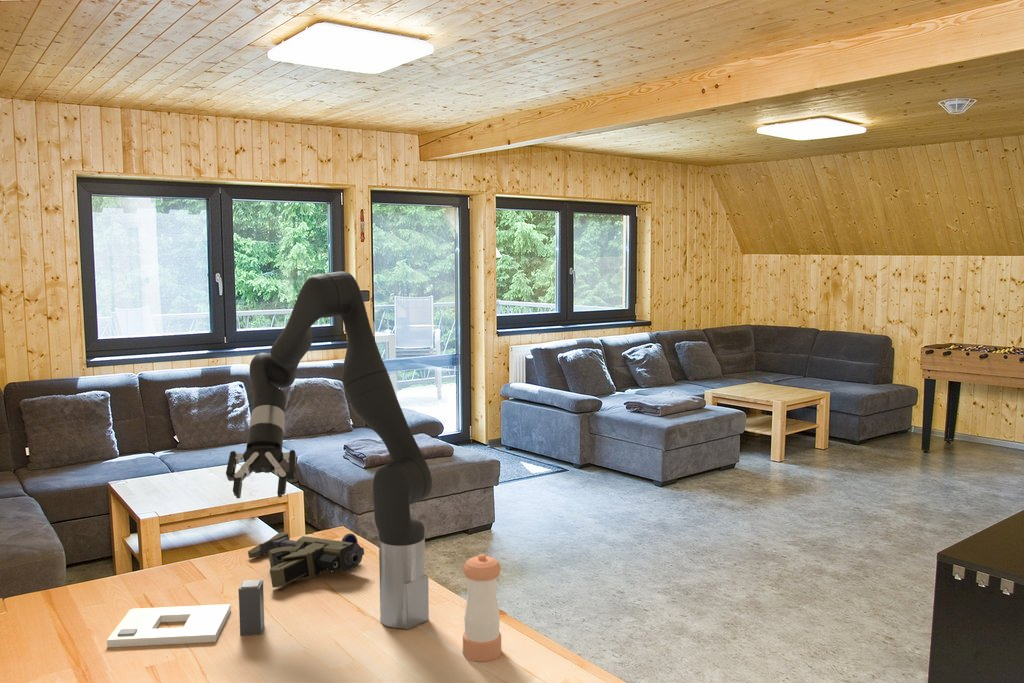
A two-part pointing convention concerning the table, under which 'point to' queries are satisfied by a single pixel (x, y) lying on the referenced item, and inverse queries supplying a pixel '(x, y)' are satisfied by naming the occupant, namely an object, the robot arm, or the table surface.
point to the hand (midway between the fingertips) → (258, 496)
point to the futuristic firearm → (307, 556)
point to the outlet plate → (144, 631)
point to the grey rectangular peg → (251, 607)
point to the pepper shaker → (482, 610)
